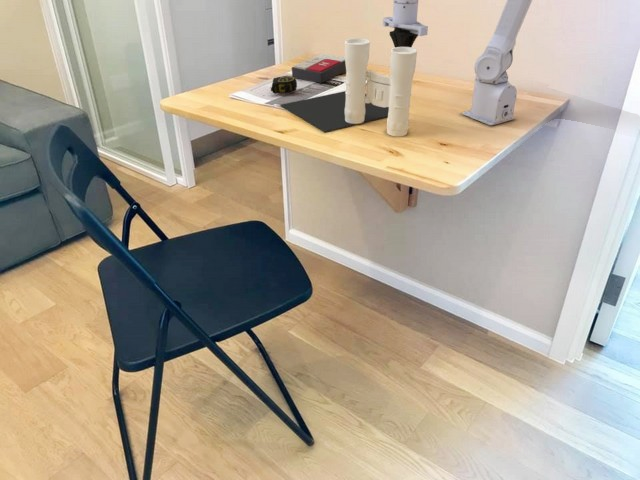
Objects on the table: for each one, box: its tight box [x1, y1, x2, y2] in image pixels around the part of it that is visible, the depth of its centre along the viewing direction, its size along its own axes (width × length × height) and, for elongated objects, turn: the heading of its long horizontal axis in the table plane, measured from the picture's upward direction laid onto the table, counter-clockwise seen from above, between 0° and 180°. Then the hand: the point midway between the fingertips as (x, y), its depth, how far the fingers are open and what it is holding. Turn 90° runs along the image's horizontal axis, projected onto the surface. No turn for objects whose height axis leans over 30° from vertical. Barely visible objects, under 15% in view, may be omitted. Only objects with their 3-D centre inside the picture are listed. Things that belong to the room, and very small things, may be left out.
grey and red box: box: [291, 53, 346, 84], centre depth 157 cm, size 11×4×15 cm
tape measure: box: [270, 75, 298, 94], centre depth 143 cm, size 7×7×4 cm
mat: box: [279, 90, 389, 133], centre depth 132 cm, size 22×23×1 cm
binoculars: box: [344, 37, 418, 137], centre depth 116 cm, size 17×5×18 cm, turn 51°
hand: (402, 61), depth 130 cm, fingers closed
